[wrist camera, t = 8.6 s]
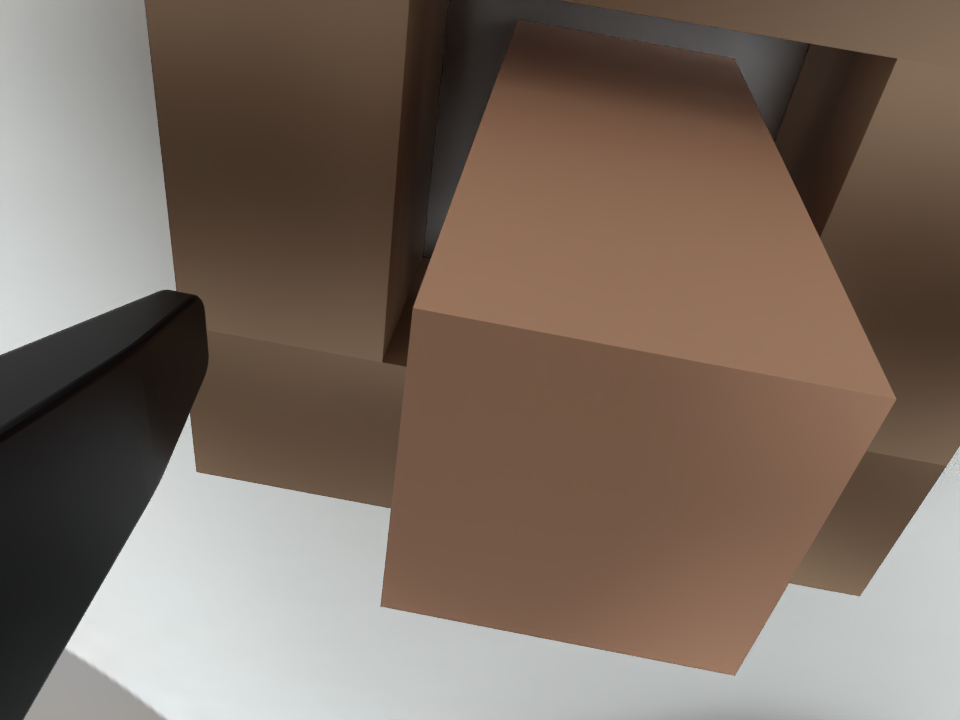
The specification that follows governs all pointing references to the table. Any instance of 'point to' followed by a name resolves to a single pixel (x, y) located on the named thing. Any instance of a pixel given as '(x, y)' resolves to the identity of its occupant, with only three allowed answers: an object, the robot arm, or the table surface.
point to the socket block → (403, 212)
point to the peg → (624, 364)
